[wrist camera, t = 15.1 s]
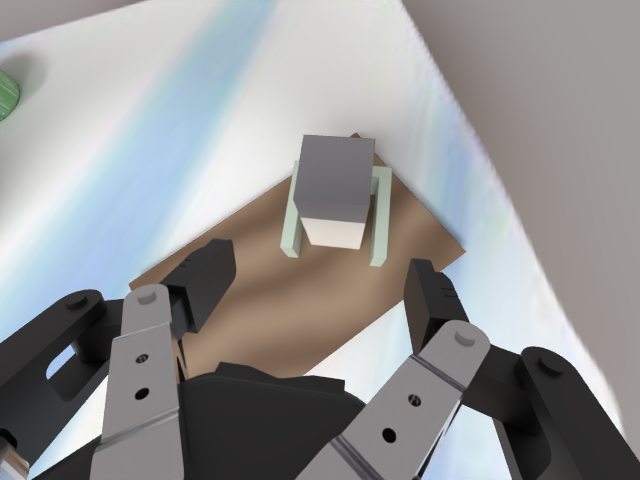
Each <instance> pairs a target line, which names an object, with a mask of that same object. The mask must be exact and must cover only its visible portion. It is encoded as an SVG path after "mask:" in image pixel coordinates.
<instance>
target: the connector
mask: <svg viewBox="0 0 640 480" xmlns="http://www.w3.org/2000/svg"><path fill="white" fill-rule="evenodd" d="M374 147H375V139H368V138H351V137H334V136H317V135H304V137H303V142H302V148H301V154H300V160H299V166H298V172H297V178H296V184H295V190H294V196H293V201H294V203H295V206H296V208H297V211H298V213H299V215H300V218H301V220H302V223H303V225H304V228H305V230H306V233H307V235H308V238H309V240H310V243H311V245H321V246H331V247H340V248H350V249H360V245H361V241H362V236H363V232H364V228H365V223H366V219H367V214H368V210H369V206H370V194H371V182H372V171H373V159H374Z"/></svg>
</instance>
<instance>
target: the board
mask: <svg viewBox="0 0 640 480" xmlns="http://www.w3.org/2000/svg"><path fill="white" fill-rule="evenodd" d="M350 137H351V138H361V137H360V136H359V135H358V134H357V133H355V134H353V135H352V136H350ZM373 166H379V167H387V166H386V164H385V163H384V162H383V161H382V160H381V159H380V158H379V157H378V156H377V155H376V154H375V153H374V159H373ZM291 181H292V176H290V177H289V178H287V179H286V180H284V181H283V182H281V183H280V184H278V185H277V186H275V187H274V188H272V189H271V190H269V191H268V192H266V193H265V194H263V195H262V196H260V197H259V198H257V199H255V200H254V201H252V202H251V203H249V204H248V205H246V206H245V207H243V208H242V209H240V210H239V211H237V212H236V213H234V214H233V215H231V216H230V217H228V218H227V219H225V220H224V221H222V222H221V223H219V224H218V225H216V226H215V227H213V228H212V229H210V230H209V231H207V232H206V233H204V234H203V235H201V236H200V237H198V238H197V239H195V240H194V241H192V242H191V243H189V244H188V245H186V246H185V247H183V248H182V249H180V250H179V251H177V252H176V253H174V254H173V255H171V256H170V257H168V258H167V259H165V260H164V261H162V262H161V263H159V264H158V265H156V266H155V267H153V268H152V269H150V270H149V271H147V272H146V273H144V274H143V275H141V276H140V277H138V278H137V279H135V280H134V281H132V282H131V283H129V286H130V288H131V290H132V291H133V290H135V289H137V288H139V287H142V286H145V285H149V284H159V283H160V282H161V281H162V280H163V279H164V278H165V277H166V276H167V275H168V274H169V273H170V272H171V271H172V270H173V269H174V268H175V267H177V266H178V265H179V264H180V263H181V262H182V261H184V259H185V258H186V257H187V256H188V255H189V254H190V253H191V252H193V251H195V250H197V249H199V248H201V247H205V246H206V245H207V244H208V243H209V242H210V241H211V240H212V239H213V238H222V239H231V240H232V242H233V247H234V254H235V261H236V276H235V279H234V281H233V283H232V284H231V286H230V287H229V288H228V290H227V291H226V293H225V294H224V296H223V297H222V299H221V300H220V302H219V303H218V305H217V306H216V308H215V309H214V310H213V312H212V313H211V315H210V316H209V318H208V319H207V321H206V322H205V324H204V325H203V327H202V328H201V330H200V331H199V333H198V334H195V333H188V332H186V333H185V334H184V336H183V337H182V339H183V342H184V348H185V354H186V361H187V367H188V373H189V379H190V378H192V377H195V376H198V375H201V374H204V373H209V372H215V370H216V368H217V366H218V364H219V363H220V361H221V362H227V363H234V364H241V365H247V366H251V367H253V368H256V369H258V370H260V371H263V372H265V373H267V374H270V375H272V376H274V377H277V378H289V377H300V376H303V375H304V374H306V373H307V372H308V371H310V370H311V369H312V368H313V367H315V366H316V365H317V364H319V363H320V362H321V361H323V360H324V359H325V358H327V357H328V356H329V355H331V354H332V353H333V352H335V351H336V350H337V349H339V348H340V347H341V346H342V345H344V344H345V343H346V342H348V341H349V340H350V339H352V338H353V337H354V336H356V335H357V334H358V333H360V332H361V331H362V330H364V329H365V328H366V327H368V326H369V325H370V324H372V323H373V322H374V321H375V320H377V319H378V318H379V317H381V316H382V315H383V314H385V313H386V312H387V311H389V310H390V309H391V308H393V307H394V306H395V305H397V304H398V303H399V302H401V301H402V300H403V299H404V297H403V295H404V286H405V281H406V277H407V272H408V268H409V264H410V260H411V258H420V259H430V260H431V262H432V265H433V267H434V270H435V272H440V271H441V270H443V269H444V268H445V267H447V266H448V265H449V264H451V263H452V262H453V261H455V260H456V259H457V258H459V257H460V256H461V255H463V254H464V253H465V252H466V251H465V250H464V249H463V248H462V247H461V246H460V245H459V244H458V243H457V241H456V240H455V239H454V238H453V237H452V236H451V235H450V234H449V233H448V232H447V231H446V230H445V228H444V227H443V226H442V225H441V224H440V223H439V222H438V221H437V220H436V219H435V218H434V217H433V215H432V214H431V213H430V212H429V211H428V210H427V209H426V208H425V207H424V206H423V205H422V204H421V202H420V201H419V200H418V199H417V198H416V197H415V196H414V195H413V194H412V193H411V192H410V191H409V189H408V188H407V187H406V186H405V185H404V184H403V183H402V182H401V181H400V180H399V179H398V177H397V176H396V175H395V174H394V173H393V172H392V178H391V194H390V210H389V226H388V242H387V258H386V260H385V261H384V263H383V264H382V266H381V267H378V266H369V264H370V252H371V239H372V226H373V214H374V201H375V195H370V206H369V210H368V214H367V219H366V223H365V228H364V232H363V236H362V241H361V245H360V249H350V248H340V247H331V246H321V245H311V243H310V240H309V238H308V235H307V233H306V230H305V228H304V226H303V233H302V240H301V246H300V253H299V258H294V257H288V256H287V255H286V254H285V252H284V251H283V250H282V249H281V248H280V245H281V239H282V233H283V227H284V221H285V216H286V210H287V204H288V198H289V192H290V186H291Z"/></svg>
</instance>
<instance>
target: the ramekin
mask: <svg viewBox="0 0 640 480" xmlns="http://www.w3.org/2000/svg"><path fill="white" fill-rule="evenodd" d="M19 94H20V92H19V88H18V85H17V84H16V82H15V81H14V80H13V79H11V78H10V77H9V76H8V75H7V74H5V73H4V72H3V71H2V70H1V69H0V121H1V120H2V119H4V118H5V117H6V116H8V115H9V114H10V113H11V111H12V110H13V109H14V108H15V106H16V104H17V102H18V100H19Z"/></svg>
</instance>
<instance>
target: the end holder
mask: <svg viewBox="0 0 640 480" xmlns="http://www.w3.org/2000/svg"><path fill="white" fill-rule="evenodd" d="M298 166H299V161H295V163H294V169H293V175H292V181H291V186H290V192H289V198H288V204H287V210H286V216H285V221H284V227H283V233H282V239H281V245H280V248H281V249H282V250H283V251H284V252H285V254H286V255H287V256H288V257H294V258H299V253H300V246H301V240H302V233H303V226H304V225H303V223H302V220H301V218H300V215H299V213H298V211H297V208H296V206H295V203H294V201H293V196H294V190H295V184H296V178H297V172H298ZM391 178H392V167H379V166H373V171H372V182H371V194H370V195H375V201H374V214H373V226H372V239H371V252H370V264H369V266H378V267H381V266H382V264H383V263H384V261H385V260H386V258H387V242H388V226H389V210H390V194H391Z"/></svg>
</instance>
